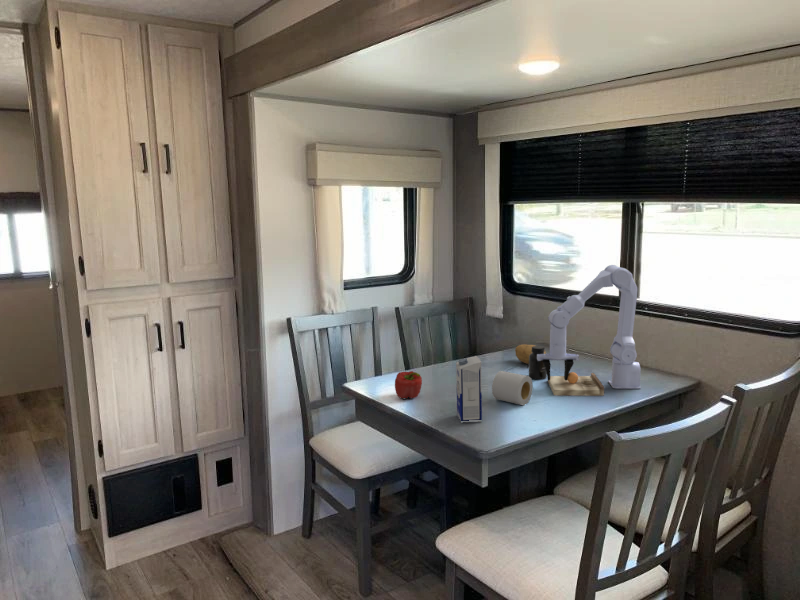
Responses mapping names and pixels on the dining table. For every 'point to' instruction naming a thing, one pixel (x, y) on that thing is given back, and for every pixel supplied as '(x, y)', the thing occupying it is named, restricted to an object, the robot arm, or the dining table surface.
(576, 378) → the ball
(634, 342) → the robot arm
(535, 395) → the dining table surface
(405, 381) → the vegetable
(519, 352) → the potato
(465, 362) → the milk carton
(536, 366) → the supplement bottle
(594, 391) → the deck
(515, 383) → the toilet paper
